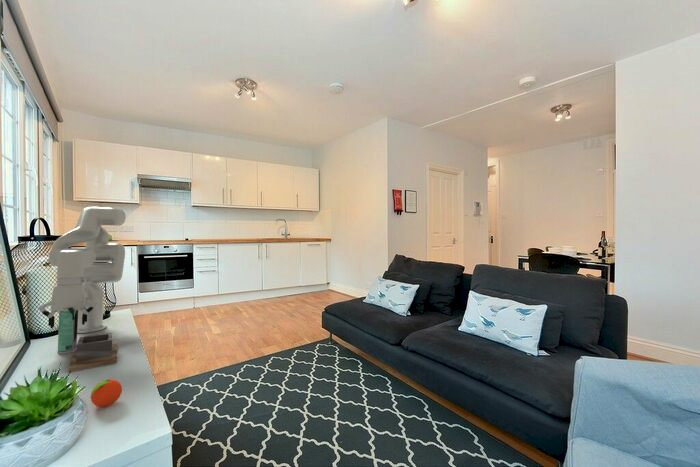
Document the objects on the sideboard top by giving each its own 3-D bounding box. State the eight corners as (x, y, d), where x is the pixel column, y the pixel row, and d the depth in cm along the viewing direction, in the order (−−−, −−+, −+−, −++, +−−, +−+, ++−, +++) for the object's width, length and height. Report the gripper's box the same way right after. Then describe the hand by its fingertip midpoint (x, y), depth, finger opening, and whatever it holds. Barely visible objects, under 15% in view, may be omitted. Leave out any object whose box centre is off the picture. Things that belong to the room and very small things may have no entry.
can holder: (74, 352, 119) (75, 333, 119) (116, 345, 126) (117, 328, 126) (68, 372, 103) (68, 350, 103) (116, 363, 111) (117, 343, 111)
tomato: (100, 416, 80) (101, 389, 80) (79, 412, 81) (79, 386, 81) (127, 400, 88) (128, 375, 88) (107, 397, 89) (108, 372, 89)
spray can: (80, 348, 122) (82, 299, 122) (66, 354, 116) (68, 302, 116) (68, 347, 122) (70, 298, 122) (53, 353, 117) (55, 301, 117)
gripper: (99, 278, 128) (97, 320, 128) (40, 281, 117) (39, 326, 117) (98, 281, 122) (96, 324, 122) (36, 284, 111) (34, 331, 111)
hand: (68, 325), depth 119 cm, fingers open, 8 cm apart
